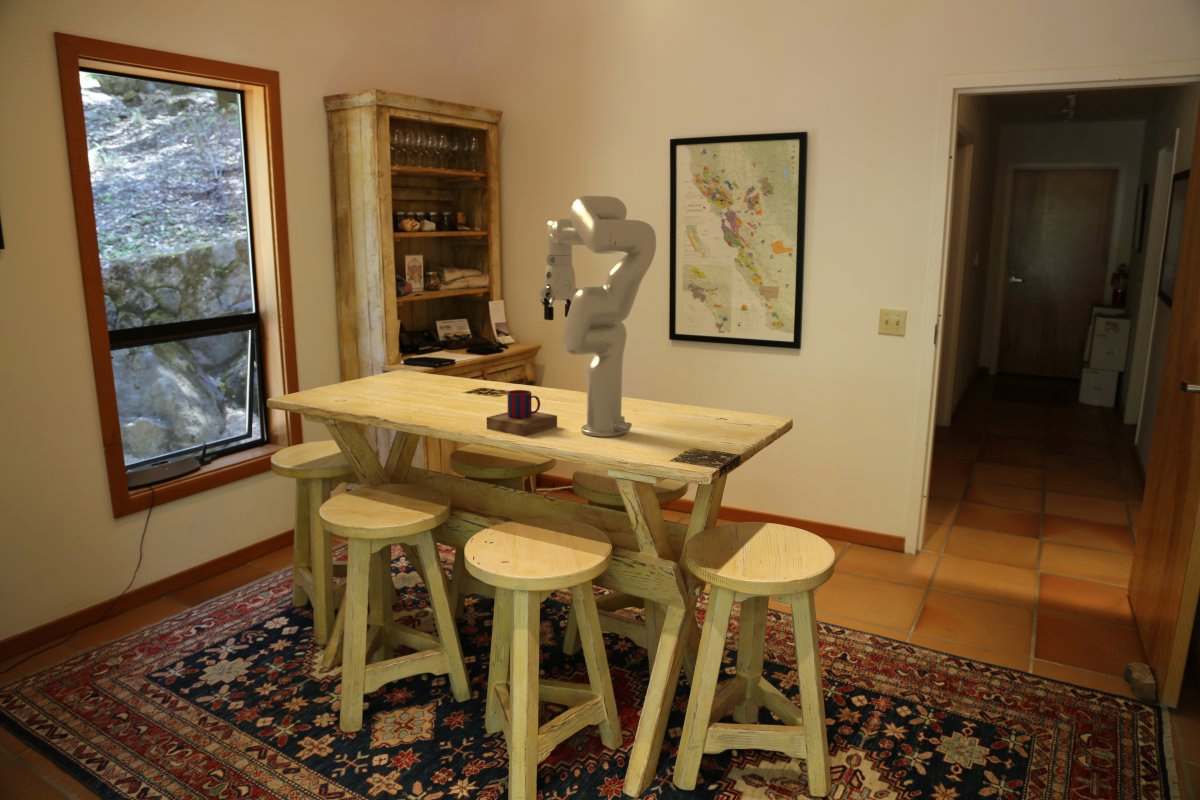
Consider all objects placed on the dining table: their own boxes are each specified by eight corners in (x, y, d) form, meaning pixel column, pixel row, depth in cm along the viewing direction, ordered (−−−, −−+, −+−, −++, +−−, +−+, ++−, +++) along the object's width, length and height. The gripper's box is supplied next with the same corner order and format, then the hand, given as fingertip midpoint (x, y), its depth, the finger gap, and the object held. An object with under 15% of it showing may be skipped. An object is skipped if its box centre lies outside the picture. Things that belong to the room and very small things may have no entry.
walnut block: (557, 429, 239) (557, 415, 239) (524, 439, 228) (524, 424, 228) (520, 422, 248) (519, 408, 247) (486, 431, 236) (486, 417, 236)
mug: (518, 412, 242) (518, 388, 241) (545, 417, 237) (545, 393, 235) (502, 416, 237) (502, 392, 235) (529, 421, 231) (530, 397, 230)
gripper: (550, 262, 243) (550, 322, 247) (587, 261, 257) (586, 317, 260) (530, 261, 248) (531, 320, 251) (568, 260, 261) (567, 315, 265)
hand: (559, 318), depth 256 cm, fingers open, 9 cm apart
